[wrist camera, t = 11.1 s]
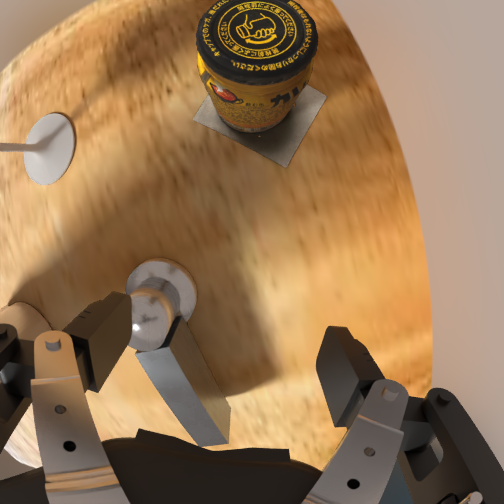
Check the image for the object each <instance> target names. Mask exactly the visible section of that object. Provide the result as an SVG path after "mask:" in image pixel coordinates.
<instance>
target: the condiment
mask: <svg viewBox="0 0 504 504" xmlns="http://www.w3.org/2000/svg"><path fill="white" fill-rule="evenodd" d="M196 37H197V41H196V45H197V50H198V54H197V67H198V70H199V75H200V77H201V80H202V82H203V83H204V85H205V88H206V90H207V92H208V96H207V97H206V99H205V100H204V102H203V103H202V105H201V107H200V108H199V110H198V111H197V113H196V115H195V117H194V118H193V120H194V121H196V122H198V123H200V124H202V125H204V126H207V127H209V128H211V129H213V130H215V131H217V132H219V133H221V134H223V135H225V136H227V137H229V138H231V139H233V140H235V141H237V142H239V143H240V144H243V145H245V146H247V147H249V148H250V149H252V150H254V151H256V152H258V153H260V154H261V155H263V156H265V157H267V158H269V159H271V160H273V161H274V162H276V163H278V164H280V165H281V166H283V167H285V168H286V167H287V166H288V164H289V162H290V160H291V158H292V157H293V155H294V153H295V151H296V150H297V148H298V146H299V144H300V143H301V141H302V139H303V137H304V136H305V134H306V132H307V130H308V129H309V127H310V125H311V123H312V122H313V120H314V118H315V117H316V115H317V113H318V111H319V110H320V108H321V106H322V105H323V103H324V101H325V99H326V98H327V96H326V95H324V94H322V93H321V92H319V91H318V90H316V89H314V88H312V87H310V86H309V85H307V83H308V81H309V78H310V76H311V73H312V69H313V57H314V56H315V54H316V51H317V45H318V34H317V30H316V25H315V22H314V20H313V19H312V18H311V17H310V15H309V14H308V13H307V12H306V11H305V10H304V9H303V8H302V7H301V5H300V4H298V3H296V2H295V1H293V0H219V1H217V2H216V3H215V4H214V5H213V6H212V7H211V8H210V9H209V10H208V11H207V12H206V13H205V14H204V15H203V16H202V18H201V19H200V22H199V25H198V30H197V33H196ZM294 103H295V107H294V106H293V104H294ZM259 135H260V137H258V136H259Z"/></svg>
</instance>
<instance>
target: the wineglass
mask: <svg viewBox="0 0 504 504" xmlns="http://www.w3.org/2000/svg"><path fill="white" fill-rule="evenodd" d="M74 146H75V137H74V130H73V128H72V125H71V123H70V122H69V120H68V119H67V118H66V117H65V116H63V115H61V114H57V113H53V114H48V115H46V116H44V117H42V118H41V119H40V120H39V121H37V123H36V124H35V125H34V126H33V128H32V129H31V131H30V133H29V135H28V138H27V140H26V144H17V143H0V152H24V163H25V168H26V171H27V173H28V175H29V177H30V178H31V179H32V180H33V181H34V182H35V183H37V184H40V185H49V184H52V183H54V182H56V181H57V180H59V179H60V178H61V177H62V176H63V174H64V173H65V172H66V170H67V168H68V167H69V165H70V162H71V160H72V157H73V152H74Z"/></svg>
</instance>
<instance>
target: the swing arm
mask: <svg viewBox="0 0 504 504" xmlns="http://www.w3.org/2000/svg"><path fill="white" fill-rule="evenodd" d="M130 296H131V299H132V336H131V340H130V342H129V344H128V345H129V346H130V347H132V348H134V349H137V351H136V353H135V355H136V357H137V359H138V360H139V362H140V364H141V365H142V367H143V369H144V370H145V372H146V373H147V375H148V377H149V378H150V380H151V381H152V383H153V384H154V386H155V387H156V389H157V390H158V392H159V393H160V395H161V396H162V398H163V399H164V401H165V402H166V404H167V405H168V406H169V408H170V409H171V411H172V412H173V413H174V415H175V416H176V417H177V419H178V420H179V421H180V423H181V424H182V425H183V427H184V428H185V429H186V431H187V432H188V433H189V435H190V436H191V437H192V438H193V440H194V441H195V442H196V443H197V444H198V446H199V447H204V446H213V445H221V444H228V443H229V430H230V412H231V407H230V406H229V404H228V402H227V400H226V399H225V397H224V395H223V393H222V391H221V390H220V388H219V386H218V384H217V382H216V381H215V379H214V377H213V375H212V373H211V371H210V369H209V367H208V365H207V363H206V362H205V360H204V358H203V356H202V354H201V352H200V350H199V348H198V346H197V344H196V342H195V340H194V338H193V336H192V334H191V331H190V329H189V327H188V325H187V323H186V321H185V319H184V317H183V315H180V316H176V315H177V312H178V310H179V308H180V304H181V300H180V295H179V292H178V290H177V289H176V287H175V286H174V285H173V284H172V283H171V282H169V281H168V280H166V279H164V278H160V277H150V278H147V279H145V280H144V281H142V282H141V283H140V284H139V286H138V287H137V288H136V289H135V290H134V291H133V292H132V293H131V294H130Z"/></svg>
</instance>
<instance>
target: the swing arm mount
mask: <svg viewBox="0 0 504 504" xmlns="http://www.w3.org/2000/svg"><path fill="white" fill-rule="evenodd" d="M150 277H160V278H164V279H166V280H168V281H169V282H171V283H172V284H173V285H174V286H175V287H176V289H177V290H178V292H179V295H180V300H181V304H180V308H179V310H178V312H177V315H176V316H180V315H183V317H184V319H185V321H186V322H187V321H188V320H189V318H190V317H191V315H192V313H193V311H194V308H195V306H196V303H197V288H196V284H195V282H194V280H193V278H192V276H191V275H190V273H189V272H188V271H187V270H186V269H185V268H184V267H183V266H182V265H180V264H179V263H177V262H175V261H173V260H170V259H166V258H152V259H149V260H146V261H144V262H143V263H141V264H140V265H139V266H138V267H137V268H136V269H135V270H134V271H133V272H132V273H131V274H130V276H129V278H128V280H127V284H126V294H127V295H130V294H131V293H132V292H133V291H134V290H135V289H136V288H137V287H138V286H139V284H140V283H141V282H142V281H144V280H145V279H147V278H150Z"/></svg>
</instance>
